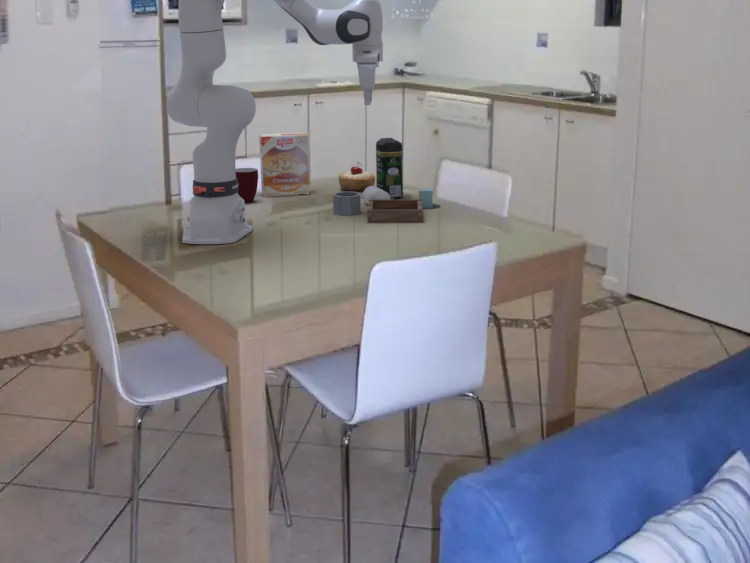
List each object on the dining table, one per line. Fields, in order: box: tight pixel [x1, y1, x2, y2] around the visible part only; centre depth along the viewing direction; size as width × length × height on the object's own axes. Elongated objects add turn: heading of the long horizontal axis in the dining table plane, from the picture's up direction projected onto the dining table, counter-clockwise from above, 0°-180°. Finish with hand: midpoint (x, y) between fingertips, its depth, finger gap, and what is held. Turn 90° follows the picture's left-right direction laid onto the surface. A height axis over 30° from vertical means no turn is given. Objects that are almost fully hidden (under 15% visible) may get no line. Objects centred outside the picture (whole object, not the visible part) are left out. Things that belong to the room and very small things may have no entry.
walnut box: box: [366, 198, 423, 224], centre depth 261 cm, size 15×15×4 cm
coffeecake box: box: [258, 131, 310, 198], centre depth 296 cm, size 15×7×20 cm, turn 103°
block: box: [418, 188, 434, 208], centre depth 274 cm, size 4×4×5 cm
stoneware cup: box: [332, 191, 362, 216], centre depth 267 cm, size 8×8×6 cm
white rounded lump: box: [362, 185, 392, 205], centre depth 276 cm, size 9×6×6 cm
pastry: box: [338, 161, 376, 192], centre depth 304 cm, size 12×12×9 cm
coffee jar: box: [375, 137, 404, 200], centre depth 290 cm, size 10×8×19 cm
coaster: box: [422, 203, 441, 211], centre depth 275 cm, size 9×9×1 cm
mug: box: [235, 167, 259, 204], centre depth 287 cm, size 10×8×10 cm
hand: (368, 103), depth 270 cm, fingers open, 8 cm apart
